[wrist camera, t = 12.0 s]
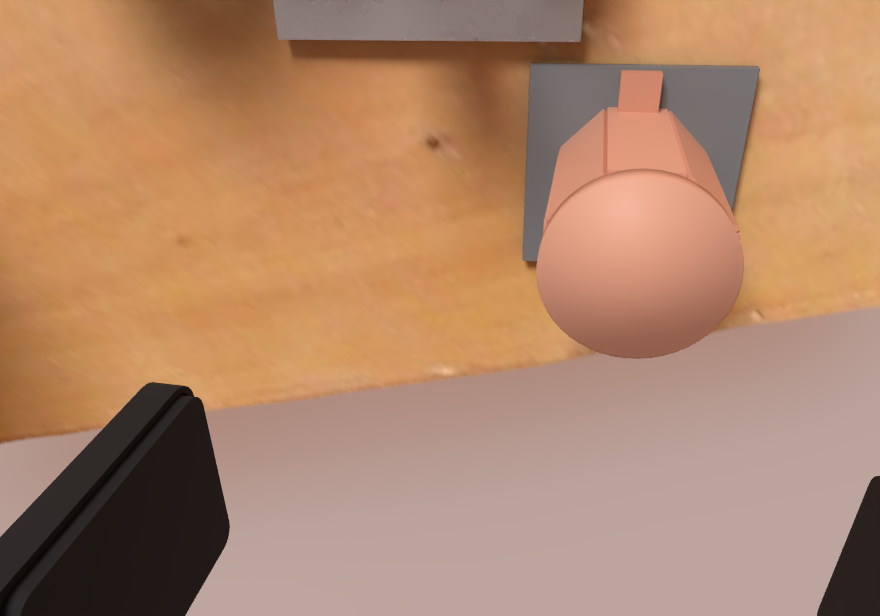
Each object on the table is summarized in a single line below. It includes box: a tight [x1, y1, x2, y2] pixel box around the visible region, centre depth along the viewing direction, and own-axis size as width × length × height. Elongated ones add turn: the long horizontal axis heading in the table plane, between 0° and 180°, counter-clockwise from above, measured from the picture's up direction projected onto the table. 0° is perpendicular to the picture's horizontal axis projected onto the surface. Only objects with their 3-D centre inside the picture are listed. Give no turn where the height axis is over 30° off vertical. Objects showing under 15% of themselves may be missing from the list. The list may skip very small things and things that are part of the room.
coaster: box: [522, 63, 760, 261], centre depth 30 cm, size 9×9×1 cm
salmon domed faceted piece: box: [536, 70, 744, 358], centre depth 26 cm, size 9×6×10 cm
